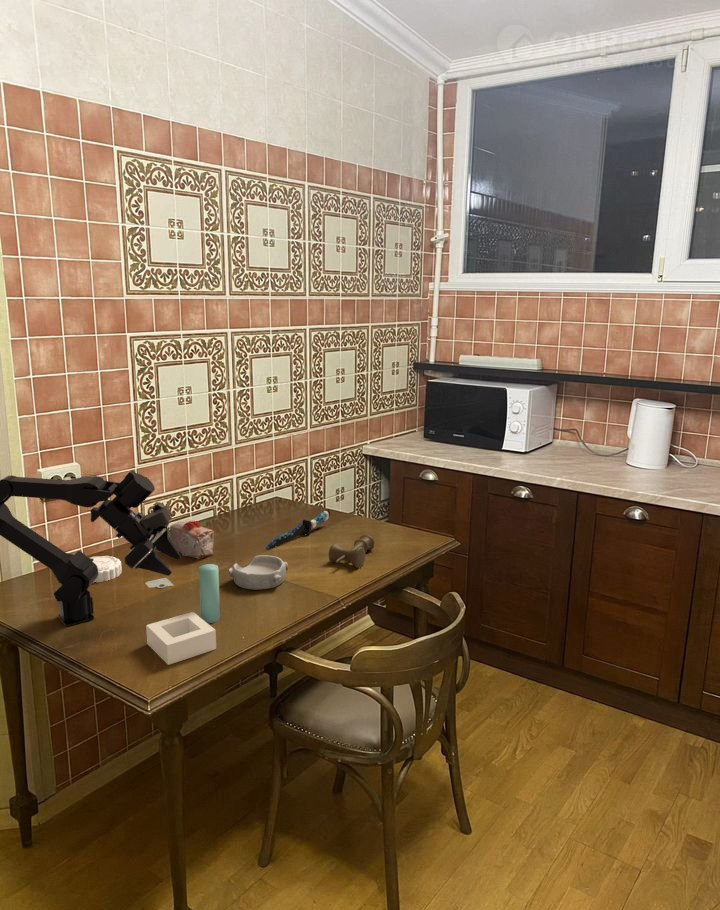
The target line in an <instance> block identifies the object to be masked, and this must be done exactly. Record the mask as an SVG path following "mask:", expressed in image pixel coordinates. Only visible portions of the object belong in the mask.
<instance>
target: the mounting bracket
mask: <svg viewBox="0 0 720 910" xmlns="http://www.w3.org/2000/svg"><path fill="white" fill-rule="evenodd" d="M144 584H145V585H146V586H147V587H148V588H149V589H150V588H157V589H166V588H167V587H172V586H173V587H175V585H174V584H173V583H172V581H170V580H169V579H168V578H167V577H163V578H162V577H161V578H158V579H154V580H149V581H146V582H145V583H144Z"/></svg>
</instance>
